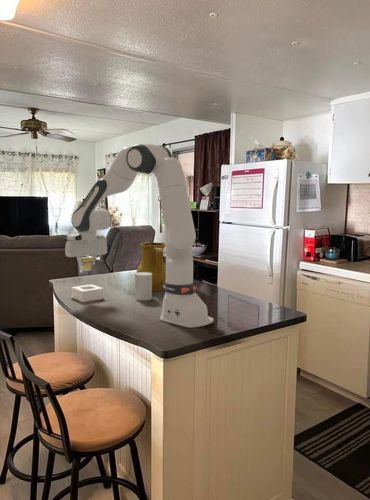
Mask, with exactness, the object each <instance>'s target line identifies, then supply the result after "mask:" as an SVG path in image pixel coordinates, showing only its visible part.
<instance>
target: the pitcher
mask: <svg viewBox="0 0 370 500" xmlns="http://www.w3.org/2000/svg"><path fill="white" fill-rule="evenodd" d="M140 247H141V249H142V256H141V260H140V263H139V266H137V268H136V272H135V273H139V272H148V273H152V292H160V291H163V290H164V285H165V282H166V262H165V261H164V256H165V255H164V248H166V242H156V241H155V242H152V241H150V242H143V243H140Z"/></svg>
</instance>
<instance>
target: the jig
mask: <svg viewBox="0 0 370 500" xmlns="http://www.w3.org/2000/svg"><path fill="white" fill-rule="evenodd" d="M104 294H105V292H104V287H101V286H98V285H95V284H94V283H93V284H85V285H78V286H72V287H71V298H72V299H74V300H77V301H78V302H81V303H87V302H92V301H98V300H103V299H104V298H105V295H104Z"/></svg>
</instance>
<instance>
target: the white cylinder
mask: <svg viewBox="0 0 370 500" xmlns="http://www.w3.org/2000/svg"><path fill="white" fill-rule="evenodd" d="M152 293H153V291H152V273H148V272H139V273H136V272H135V273H134V300H136V301H150V300H153V299H152V298H153V294H152Z"/></svg>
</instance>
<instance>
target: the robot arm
mask: <svg viewBox="0 0 370 500" xmlns="http://www.w3.org/2000/svg"><path fill="white" fill-rule="evenodd" d="M138 173H140V174H147V175H150V174H152V175H154V176H155V178H156V181H157V189H158V194H159V200H160V206H161V207H160V208H161V212H162V217H163V223H164V227H165V244H166V246H165V265H166V282H165V284H164V285H163V287H164V295H163V299H162V308H161V313H160V314H161V315H160V317H159V321H161V322H165V323H169V324H173V325H177V326H181V327H184V328H189V329H190V328H199V327H204V326H207V325H210V324H212V323H214V322H215V321H214V318H213V317H211V316H209V315H208V306H207V305H206V303H204V301H203V300H202V299H201V298H200V297H199V295H198V294H197V293H196V292H197V289H198V285H197V286H195V282H194V256H193V245H194V244H195V242H196V237H197V236H196V235H197V234H196V230H195V224H194V219H193V215H192V210H191V207H190V200H189V193H188V186H187V182H186V177H185V173H184V169H183V167H182V163H181V161H180V159H177V158H175V157H173V153H171V150H170V149H169V148H167V147H166V146H163V145H161V144H160V145H159V144H158V145H156V144H152V143H145V144H144V143H143V144H142V143H140V144H139V143H137V144H134V145H132V146H124V147H123V148H122V149H121V150H120V151H119V152H118V154H117V156H116V157H115V158H114V160H113V162H112V163H111V165H110V167H109V169H108V170H107V172H106V173H105V174H104V175H103V176H102V177H101V178H100V179H98V180H97V181H96V182H94V183H95V184H94V185H93V186H92V187H91V189H90V190H89V192H88V193H87V195H86V196H85V197H84V199H83V201H80V202H79V203H78V205H77V208H76V209H75V210H74V212H73V213H72V214H71V219H70V221H71V225H72V226H73V228H74V229H75V230H76V232H75V231H74V232H73V233H71V234H68V235H67V236H66V240H67V241H66V242H65V248H64V250H65V251H64V254H65V256H66V257H68V258H74V257H75V258H76V259H77V261H78V266H79V267H82V266H83V265H84V262H82V261H81V258H82V257H90V256H91V257H92V258H94V261H92V266H93V265H96V263H95V261H96V260H97V259H98V256H101V255H106V254H107V253H108V245H107V239H108V238H107V236H105V235H104V234H103V235H99V234H97V233H98V232H97V231H104V230H108V229H109V228H110V227H111V225H112V221H113V220H112V218H113V217H112V214H111V213H110V211H109V210H108V209H105V208H102V207H100V206H99V205H100V203H101V201H103V200H104V199H105V198H108V197H110V196H113V195H116V194H120V193H124V192H126V191H127V190H129V188H130V187H131V186H132V185H133V183H134V182H135V179H136V177H137V176H138Z"/></svg>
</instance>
